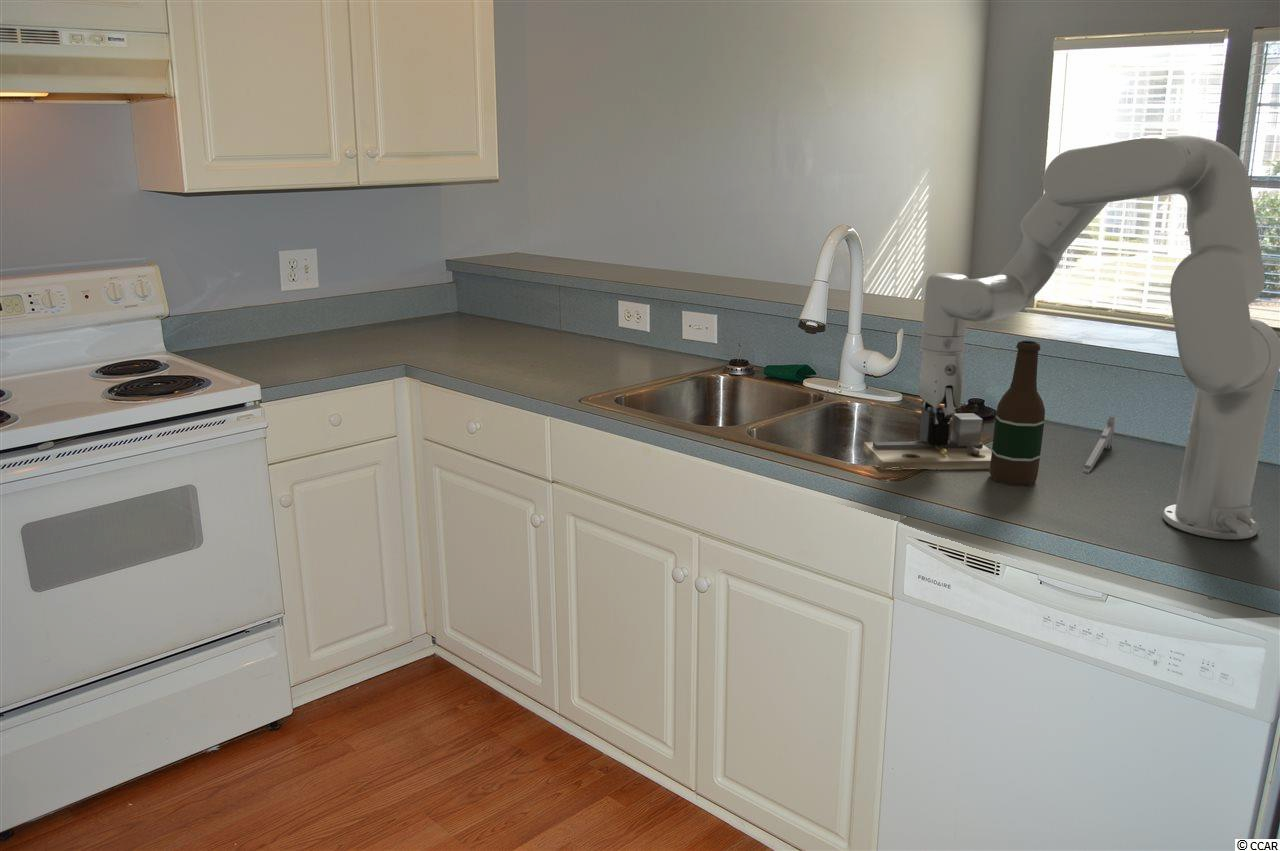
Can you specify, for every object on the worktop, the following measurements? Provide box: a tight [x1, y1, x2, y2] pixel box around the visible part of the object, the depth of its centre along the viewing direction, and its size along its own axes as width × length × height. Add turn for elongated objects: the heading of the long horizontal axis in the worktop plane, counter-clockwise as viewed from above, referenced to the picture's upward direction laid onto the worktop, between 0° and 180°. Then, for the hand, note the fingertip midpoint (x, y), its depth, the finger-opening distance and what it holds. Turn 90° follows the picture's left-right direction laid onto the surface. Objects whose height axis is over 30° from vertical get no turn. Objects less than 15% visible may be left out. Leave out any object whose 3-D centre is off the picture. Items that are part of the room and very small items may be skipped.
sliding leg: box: [918, 406, 951, 455], centre depth 182 cm, size 8×4×7 cm, turn 4°
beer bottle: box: [989, 340, 1046, 487], centre depth 169 cm, size 8×8×24 cm
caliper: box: [1082, 416, 1116, 474], centre depth 183 cm, size 20×1×6 cm, turn 145°
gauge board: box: [862, 412, 992, 471], centre depth 182 cm, size 12×22×7 cm, turn 94°
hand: (933, 439), depth 184 cm, fingers closed on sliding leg, 4 cm apart
